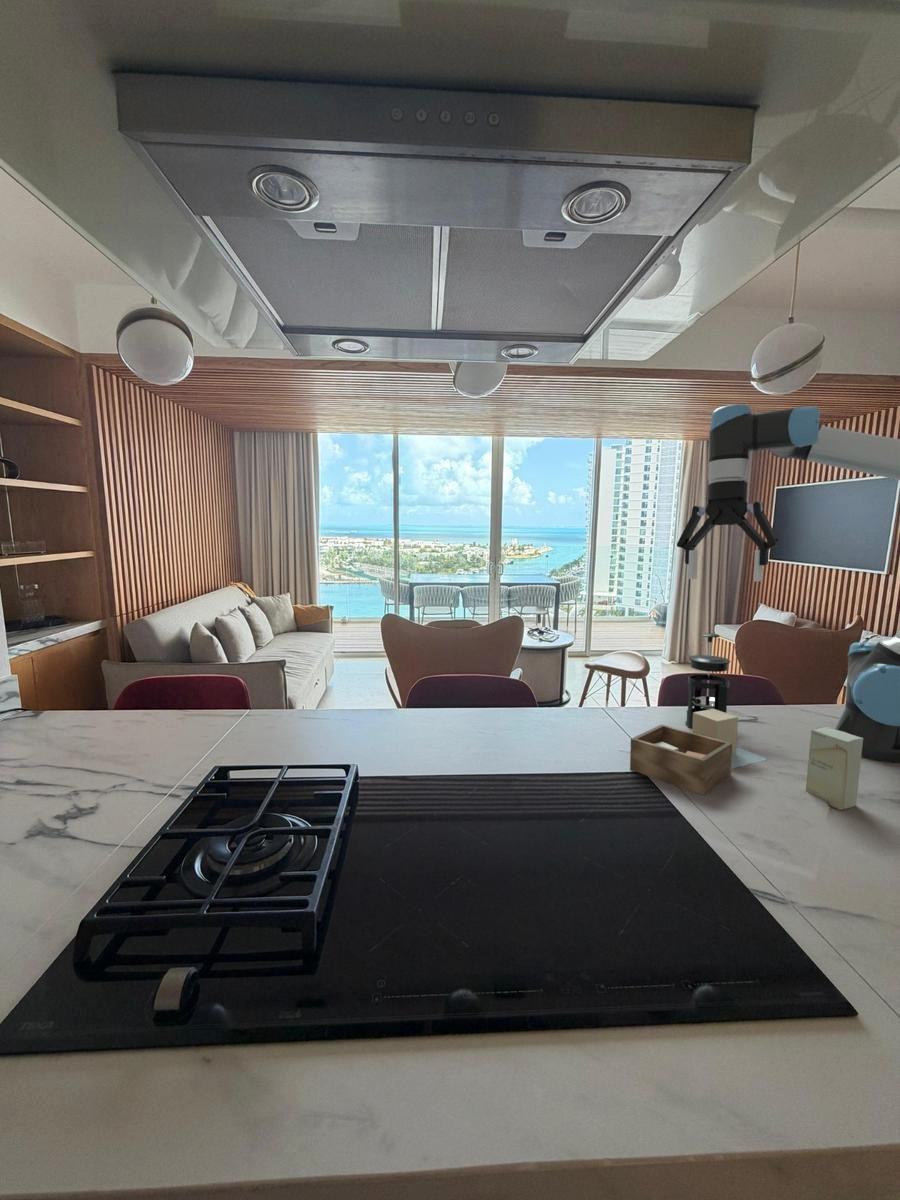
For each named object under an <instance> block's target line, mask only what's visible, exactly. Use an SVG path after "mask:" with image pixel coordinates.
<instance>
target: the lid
mask: <svg viewBox="0 0 900 1200" xmlns="http://www.w3.org/2000/svg"><path fill="white" fill-rule="evenodd" d="M738 723H739V716H736V715H734V714H730V713H729V712H728V713H727V712H726V713H725V712H722V711H719V710H716V709H710V708H709V710H704V711H698V712H693V725H692V729H691V730H692V731H691V732H692V733H695V734H699V735H703V736H707V737H711V738H714V739H718V740H722V741H726V742H729V743H732V758H731V770H732V769H735V768H740V767H743V766H747V765H752V764H756V763H760V762H763V761H766V760H769V759H768V758H766V757H764V756H761V755H759V754H756V753H754V752H751V751H748V750H746V749H743V748H741V747H738V746H737V745H738V725H739V724H738Z"/></svg>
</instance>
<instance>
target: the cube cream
mask: <svg viewBox="0 0 900 1200" xmlns="http://www.w3.org/2000/svg"><path fill="white" fill-rule="evenodd" d="M655 745H659V746H662V747H665V748H669V749H672V750H676V751H678V749H679V748H676V747H674V746H671V745H669V744H667V743H664V742H659V743H655Z"/></svg>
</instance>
